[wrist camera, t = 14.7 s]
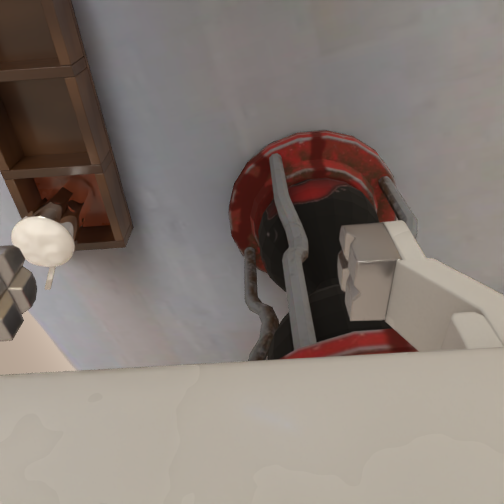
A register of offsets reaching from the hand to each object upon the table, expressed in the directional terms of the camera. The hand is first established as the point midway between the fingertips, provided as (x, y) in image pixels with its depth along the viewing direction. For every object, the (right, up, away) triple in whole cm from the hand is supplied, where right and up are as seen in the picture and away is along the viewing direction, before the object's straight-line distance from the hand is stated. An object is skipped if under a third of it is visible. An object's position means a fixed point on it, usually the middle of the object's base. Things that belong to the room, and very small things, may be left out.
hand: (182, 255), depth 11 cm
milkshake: (-14, +5, +28) cm, 32 cm away
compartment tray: (-15, +12, +24) cm, 31 cm away
